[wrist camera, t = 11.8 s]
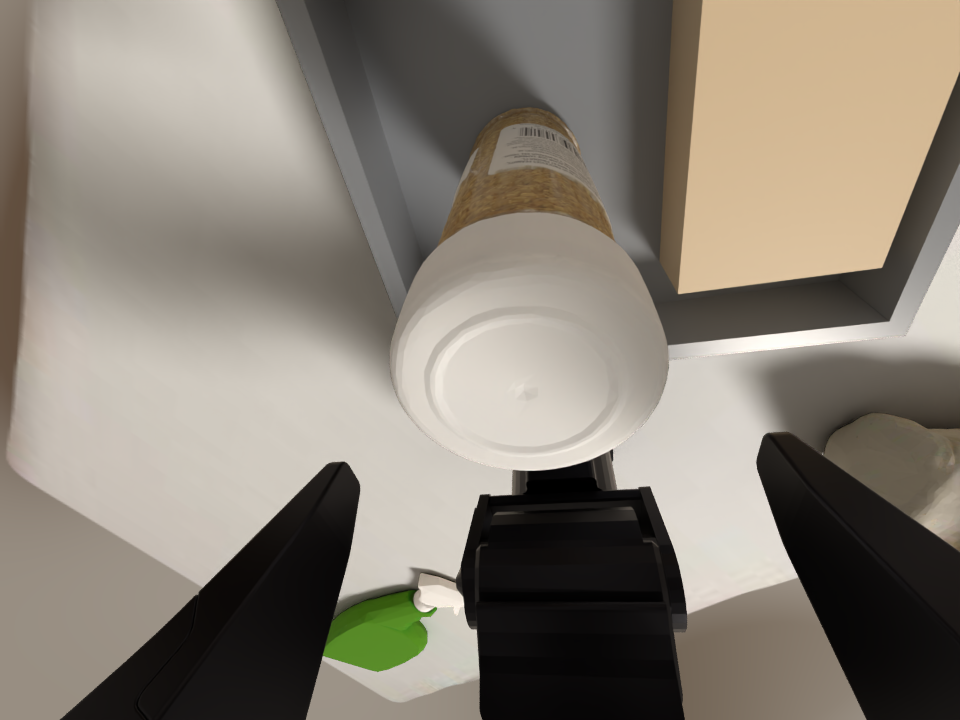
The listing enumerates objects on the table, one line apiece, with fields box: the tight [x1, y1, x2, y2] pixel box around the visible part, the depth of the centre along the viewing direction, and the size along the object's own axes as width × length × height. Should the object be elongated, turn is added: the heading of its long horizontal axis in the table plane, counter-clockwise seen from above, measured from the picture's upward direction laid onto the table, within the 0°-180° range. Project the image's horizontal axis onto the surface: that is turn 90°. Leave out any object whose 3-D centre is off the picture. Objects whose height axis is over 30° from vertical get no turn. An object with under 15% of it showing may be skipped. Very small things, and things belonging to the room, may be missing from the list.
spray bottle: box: [323, 573, 464, 672], centre depth 48 cm, size 3×11×25 cm
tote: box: [276, 0, 960, 360], centre depth 15 cm, size 16×20×4 cm
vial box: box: [659, 0, 960, 294], centre depth 14 cm, size 10×7×3 cm
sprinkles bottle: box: [389, 107, 669, 471], centre depth 12 cm, size 5×5×13 cm
